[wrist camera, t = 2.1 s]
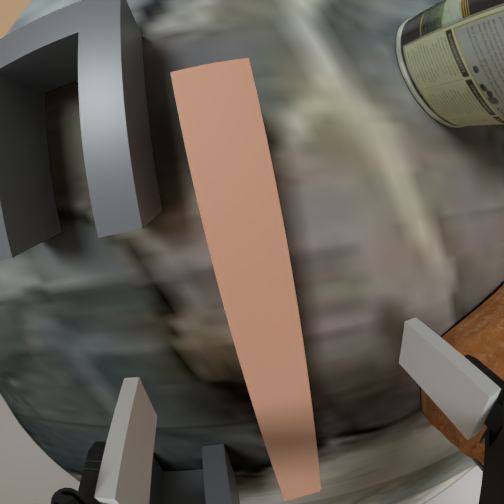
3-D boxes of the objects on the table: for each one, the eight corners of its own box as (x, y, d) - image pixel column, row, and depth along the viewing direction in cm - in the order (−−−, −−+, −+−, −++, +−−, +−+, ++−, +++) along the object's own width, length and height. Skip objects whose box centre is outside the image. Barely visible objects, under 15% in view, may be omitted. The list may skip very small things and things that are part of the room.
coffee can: (388, -1, 15) (507, -72, 2) (472, 44, 17) (583, 20, 3) (395, 110, 18) (572, 85, 4) (480, 141, 19) (612, 152, 6)
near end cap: (162, 210, 17) (142, 228, 12) (38, 238, 16) (-13, 264, 11) (141, 36, 14) (120, -12, 8) (22, 77, 13) (-27, 56, 7)
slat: (299, 434, 24) (321, 490, 18) (268, 443, 24) (284, 501, 17) (231, 98, 16) (248, 57, 10) (182, 109, 16) (170, 72, 9)
